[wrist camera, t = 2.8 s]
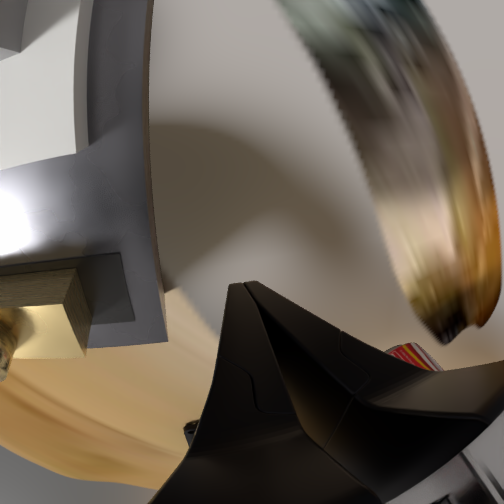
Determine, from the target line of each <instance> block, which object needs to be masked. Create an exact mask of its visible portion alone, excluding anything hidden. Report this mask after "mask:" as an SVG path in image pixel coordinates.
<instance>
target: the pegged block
mask: <svg viewBox="0 0 504 504" xmlns="http://www.w3.org/2000/svg"><path fill="white" fill-rule="evenodd" d="M91 323H92V316H91V313H90V310H89V307H88V304H87V301H86V298H85V295H84V292H83V289H82V286H81V282H80V279H79V276H78V272H77V269H76V268H72V269H63V270H54V271H45V272H36V273H27V274H17V275H8V276H0V382H1V381H4V380H5V379H6V377H7V373H8V370H9V367H10V364H11V361H12V358H29V359H51V358H85V356H86V350H87V344H88V339H89V333H90V328H91Z"/></svg>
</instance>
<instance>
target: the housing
mask: <svg viewBox="0 0 504 504" xmlns="http://www.w3.org/2000/svg"><path fill="white" fill-rule="evenodd" d="M153 5H154V0H94V1H93V7H92V15H91V23H90V33H89V45H88V61H87V126H88V143H89V146H88V147H86V148H85V149H83V150H81V151H79V152H77V153H75V154H69V155H64V156H59V157H54V158H49V159H44V160H40V161H35V162H31V163H27V164H23V165H19V166H15V167H11V168H7V169H4V170H0V276H8V275H17V274H27V273H36V272H45V271H54V270H63V269H72V268H76V269H77V272H78V276H79V279H80V282H81V286H82V289H83V292H84V295H85V298H86V301H87V304H88V307H89V310H90V313H91V316H92V323H91V328H90V333H89V339H88V344H87V348H103V347H117V346H129V345H140V344H150V343H160V342H168V333H167V321H166V309H165V295H164V288H163V282H162V275H161V268H160V260H159V253H158V245H157V236H156V227H155V217H154V207H153V195H152V181H151V167H150V166H151V165H150V144H149V61H150V41H151V27H152V14H153Z"/></svg>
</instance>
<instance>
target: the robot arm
mask: <svg viewBox="0 0 504 504" xmlns="http://www.w3.org/2000/svg"><path fill="white" fill-rule="evenodd" d="M183 429H184V434H185V437H186V439H187V442H188V445H189V449H188V451H187V453H186V455H185V457H184V458H183V460H182V461H181V463H180V464H179V465H178V467H177V468H176V469H175V470H174V472H173V473H172V474H171V475H170V477H169V478H168V479H167V480H166V482H165V483H164V484H163V485H162V487H161V488H160V489H159V490H158V492H157V493H156V494H155V495H154V496H153V498H152V499H151V500H150V501H149V502H148V504H504V360H503V361H499V362H494V363H489V364H484V365H478V366H473V367H467V368H461V369H455V370H447V371H432V370H427V369H423V368H420V367H418V366H415V365H413V364H411V363H408V362H406V361H404V360H401V359H399V358H397V357H394V356H392V355H390V354H388V353H385V352H383V351H381V350H379V349H377V348H374V347H372V346H370V345H368V344H366V343H364V342H362V341H360V340H359V339H357V338H355V337H353V336H351V335H349V334H347V333H346V332H344V331H341V330H340V329H339V328H337V327H335V326H333V325H331V324H330V323H328V322H326V321H325V320H323V319H321V318H319V317H318V316H316V315H314V314H312V313H311V312H309V311H307V310H305V309H304V308H302V307H300V306H299V305H297V304H295V303H294V302H292V301H290V300H288V299H286V298H285V297H283V296H281V295H280V294H278V293H276V292H275V291H273V290H271V289H270V288H268V287H266V286H265V285H263V284H261V283H259V282H258V281H249V282H244V283H233V284H229V286H228V292H227V298H226V304H225V310H224V316H223V322H222V328H221V334H220V341H219V347H218V353H217V358H216V364H215V370H214V375H213V380H212V384H211V387H210V391H209V394H208V397H207V400H206V403H205V406H204V409H203V412H202V415H201V417H200V420H199V423H198V424H193V425H187V426H185V427H184V428H183Z"/></svg>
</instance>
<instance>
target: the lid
mask: <svg viewBox="0 0 504 504" xmlns="http://www.w3.org/2000/svg"><path fill="white" fill-rule="evenodd" d="M93 1H94V0H0V170H4V169H7V168H11V167H15V166H19V165H23V164H27V163H31V162H35V161H40V160H44V159H49V158H54V157H59V156H64V155H69V154H75V153H77V152H79V151H81V150H83V149H85V148H86V147H88V146H89V143H88V126H87V61H88V45H89V33H90V23H91V15H92V7H93Z"/></svg>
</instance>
